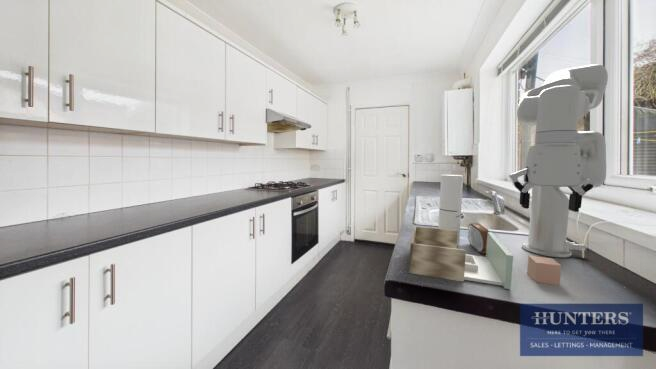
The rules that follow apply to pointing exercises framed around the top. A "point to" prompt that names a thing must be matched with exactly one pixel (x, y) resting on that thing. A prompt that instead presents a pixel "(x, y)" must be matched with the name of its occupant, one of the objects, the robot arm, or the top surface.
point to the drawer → (490, 264)
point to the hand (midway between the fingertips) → (548, 209)
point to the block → (544, 270)
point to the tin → (478, 237)
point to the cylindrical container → (450, 203)
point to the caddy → (436, 254)
